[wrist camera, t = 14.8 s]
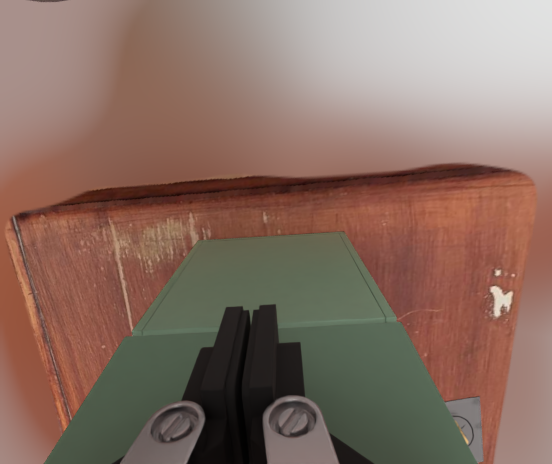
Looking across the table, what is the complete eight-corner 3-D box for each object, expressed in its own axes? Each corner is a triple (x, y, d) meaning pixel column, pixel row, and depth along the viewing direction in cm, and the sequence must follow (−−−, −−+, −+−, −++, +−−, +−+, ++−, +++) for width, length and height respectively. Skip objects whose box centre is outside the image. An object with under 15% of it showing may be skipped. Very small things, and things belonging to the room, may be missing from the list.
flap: (127, 343, 15) (124, 336, 15) (400, 328, 15) (401, 321, 15) (5, 541, 9) (-1, 531, 8) (502, 523, 8) (505, 512, 8)
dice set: (408, 420, 34) (415, 437, 32) (462, 411, 34) (473, 428, 32) (413, 460, 35) (421, 478, 33) (465, 452, 35) (475, 470, 33)
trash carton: (197, 240, 29) (131, 331, 16) (344, 231, 29) (397, 316, 16) (218, 391, 33) (179, 559, 20) (346, 385, 33) (389, 553, 20)
